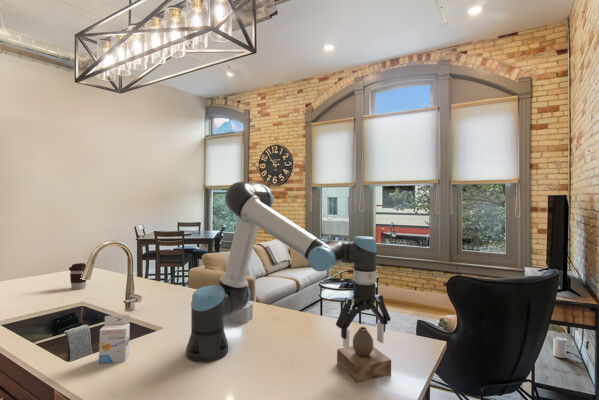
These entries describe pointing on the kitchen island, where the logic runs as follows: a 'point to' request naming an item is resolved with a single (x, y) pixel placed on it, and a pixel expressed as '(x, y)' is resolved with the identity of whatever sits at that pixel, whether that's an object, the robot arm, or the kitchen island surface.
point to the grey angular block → (241, 314)
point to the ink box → (114, 339)
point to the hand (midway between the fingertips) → (363, 344)
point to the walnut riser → (364, 364)
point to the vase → (363, 342)
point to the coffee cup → (77, 276)
